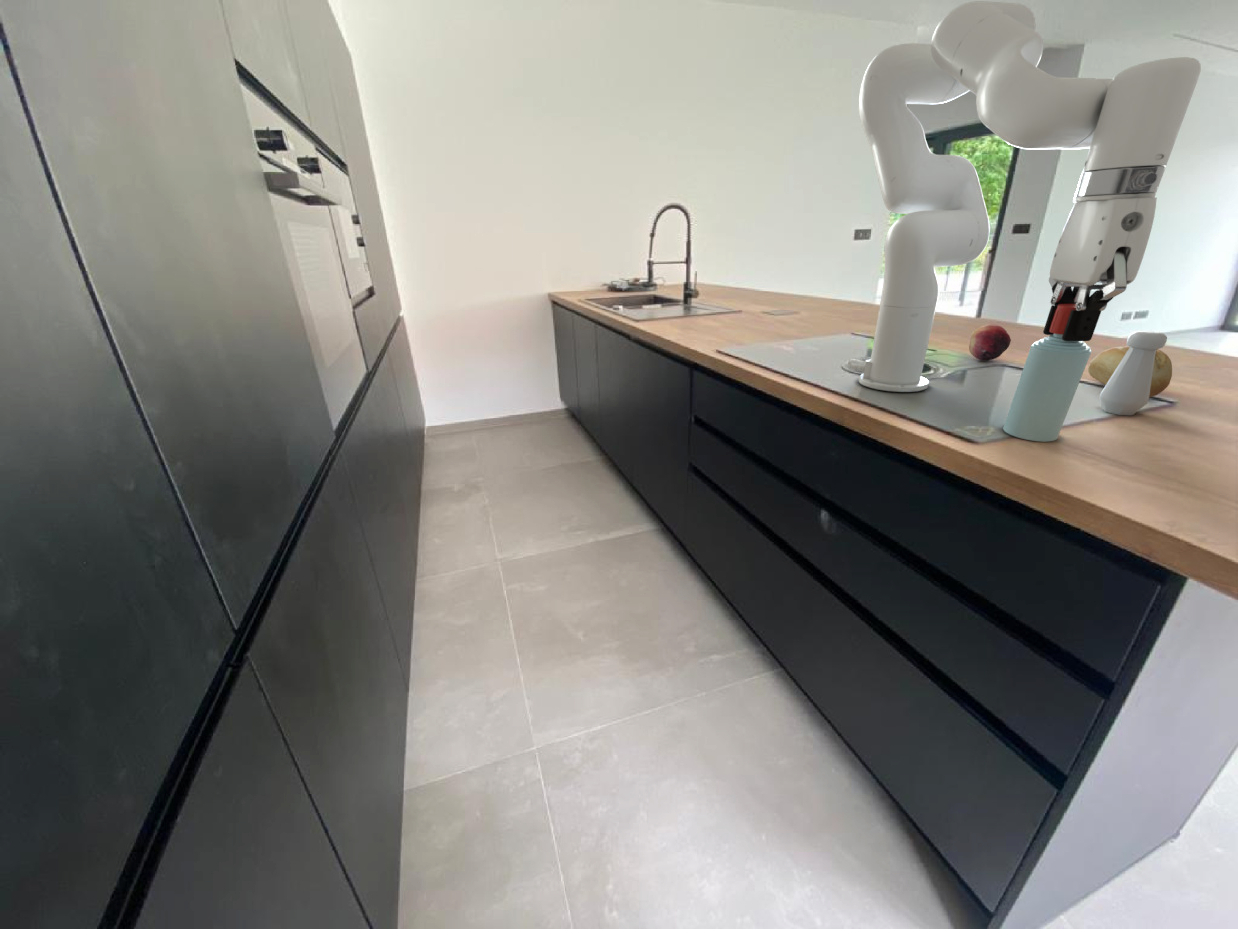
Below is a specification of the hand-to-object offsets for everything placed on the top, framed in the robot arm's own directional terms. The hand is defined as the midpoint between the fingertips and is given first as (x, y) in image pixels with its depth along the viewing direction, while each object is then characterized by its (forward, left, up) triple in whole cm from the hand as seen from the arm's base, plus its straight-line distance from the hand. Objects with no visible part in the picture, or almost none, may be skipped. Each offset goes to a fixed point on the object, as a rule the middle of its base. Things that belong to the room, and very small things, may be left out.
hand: (1066, 336), depth 69 cm
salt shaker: (+10, +20, -15) cm, 27 cm away
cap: (0, 0, 0) cm, 0 cm away
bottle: (0, 0, -15) cm, 15 cm away
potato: (+11, +36, -15) cm, 40 cm away
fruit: (-12, +50, -15) cm, 53 cm away
